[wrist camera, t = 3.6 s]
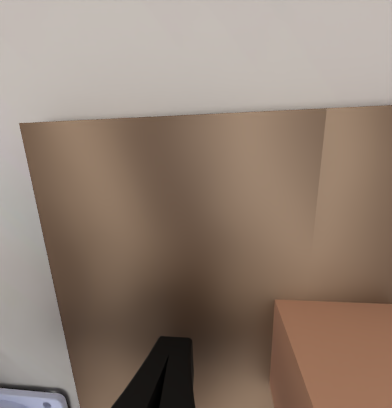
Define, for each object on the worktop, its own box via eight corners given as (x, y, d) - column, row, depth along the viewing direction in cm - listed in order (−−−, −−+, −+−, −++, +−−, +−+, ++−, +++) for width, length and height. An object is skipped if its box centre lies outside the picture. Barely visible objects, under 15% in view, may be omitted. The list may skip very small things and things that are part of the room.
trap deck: (105, 433, 15) (92, 465, 13) (48, 126, 10) (19, 123, 8) (551, 482, 12) (597, 529, 10) (763, 93, 7) (901, 80, 6)
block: (269, 383, 10) (299, 526, 6) (274, 299, 9) (314, 409, 5) (374, 392, 10) (475, 551, 6) (393, 304, 9) (533, 429, 5)
